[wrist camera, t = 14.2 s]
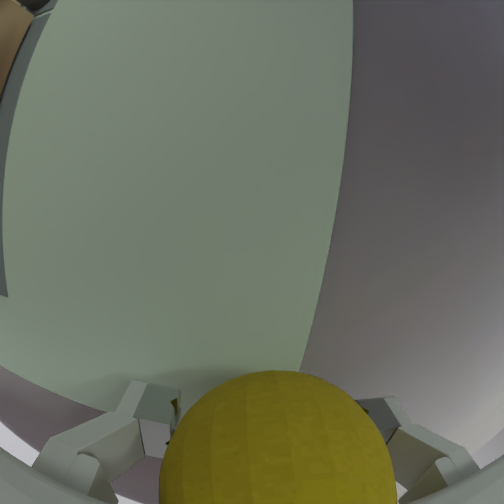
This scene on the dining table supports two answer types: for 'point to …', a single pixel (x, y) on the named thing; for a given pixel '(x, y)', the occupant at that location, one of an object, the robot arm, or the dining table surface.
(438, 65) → the dining table surface
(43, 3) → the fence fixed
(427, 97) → the dining table surface
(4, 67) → the fence panel
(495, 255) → the dining table surface
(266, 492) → the lemon
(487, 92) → the dining table surface
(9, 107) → the mat
